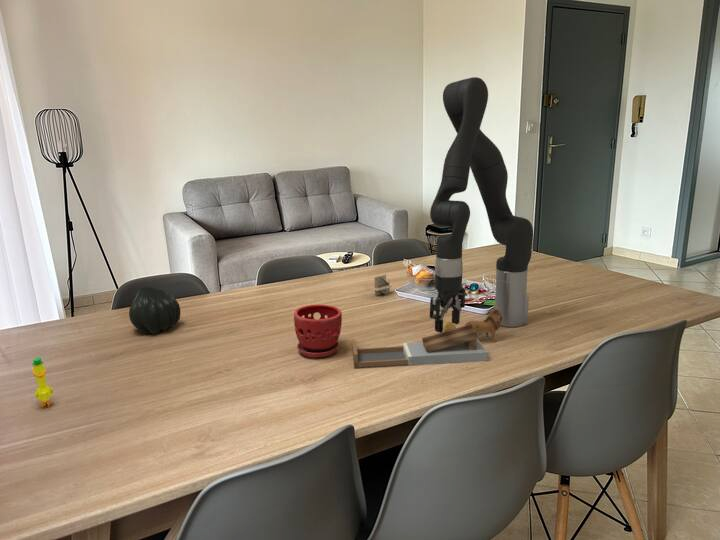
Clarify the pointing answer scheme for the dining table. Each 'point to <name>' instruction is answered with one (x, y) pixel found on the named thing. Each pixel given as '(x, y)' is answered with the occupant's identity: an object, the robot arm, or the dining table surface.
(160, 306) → the squash
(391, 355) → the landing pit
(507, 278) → the robot arm
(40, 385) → the toy figure
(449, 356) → the deck
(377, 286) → the architectural model
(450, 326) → the ball
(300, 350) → the plant pot
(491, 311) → the lion figurine
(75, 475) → the dining table surface
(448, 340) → the ramp
